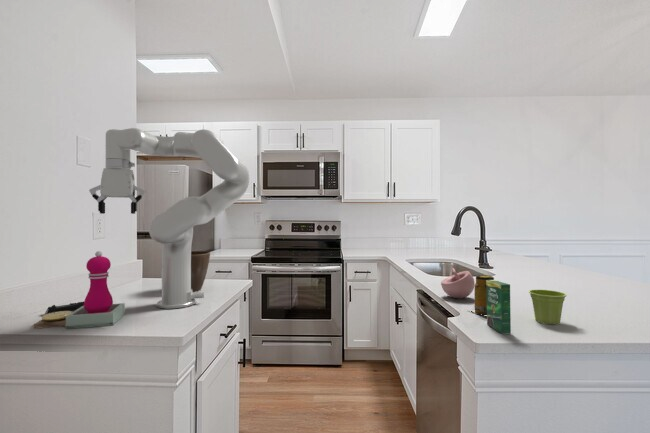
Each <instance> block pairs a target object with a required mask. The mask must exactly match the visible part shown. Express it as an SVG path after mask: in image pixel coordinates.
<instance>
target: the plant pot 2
mask: <svg viewBox="0 0 650 433" xmlns="http://www.w3.org/2000/svg"><path fill="white" fill-rule="evenodd" d="M528 293H529V294H530V298H531V301H532V306H533V307H532V308H533V313H534V318H535V321H537V322H538V323H541V324H545V325H552V324H553V325H559V324H561V320H562V319H561V318H562V313H563V306H564V301H565V300H566V299H565V298H566V297H567V293H564V292H561V291H559V290H558V291H557V290H553V289H552V290H548V289H530V290H528Z"/></svg>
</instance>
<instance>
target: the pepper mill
mask: <svg viewBox="0 0 650 433" xmlns="http://www.w3.org/2000/svg"><path fill="white" fill-rule="evenodd" d="M94 254H95V256H93V257H91V258H89V260H87V262H86V269H87V271H88V272H89V273H88V279H89V281H90V283H89V289H88V292H87V294H86V296H85V299H84V301H83V302H84V308H85V309H86V310H87V311H88V313H86V314H94V313H108V312H111V311H110V310H109V308H110V307H111V306H112V304H114V301H113V296H112V294H111V292H110V290H109V288H108V282H107V281H108V278H109V269H111V261H110V259H109V258H108V257H106V256H103V252H102V251H100V250H98V251H96V252H95V253H94Z"/></svg>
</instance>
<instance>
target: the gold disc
mask: <svg viewBox="0 0 650 433" xmlns="http://www.w3.org/2000/svg"><path fill="white" fill-rule="evenodd" d="M72 312H73V311H59V312H53V313H49V314H45V313H44V315H42V316H41V320H44V321H56V320H63V319H66V316H67V315H69V314H70V313H72Z"/></svg>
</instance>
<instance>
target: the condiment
mask: <svg viewBox="0 0 650 433" xmlns="http://www.w3.org/2000/svg"><path fill="white" fill-rule="evenodd" d="M486 280H495V278H494V276H492V275H487V274H478V275H476V276H475V285H474V289H473V291H474V294H473V295H474V310H475V313H474V315H479V314H482V315H483V316H482V315H479V316H481V317H486V318H487V316H484V315H487V293H486ZM471 311H472V310H468V312H469V313H472V312H471Z"/></svg>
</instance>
